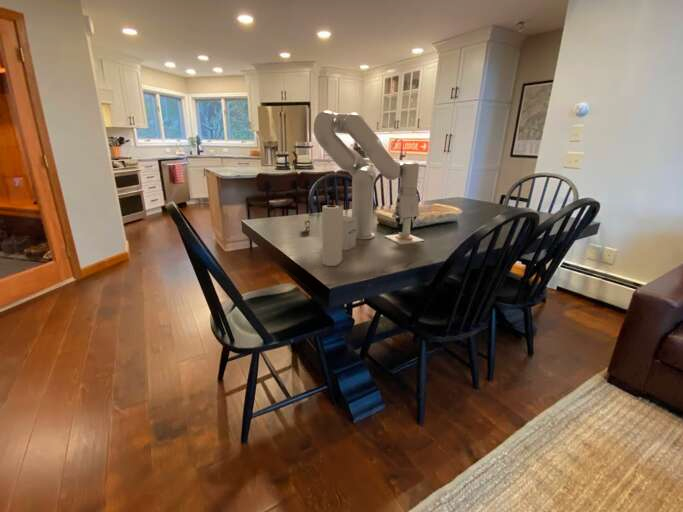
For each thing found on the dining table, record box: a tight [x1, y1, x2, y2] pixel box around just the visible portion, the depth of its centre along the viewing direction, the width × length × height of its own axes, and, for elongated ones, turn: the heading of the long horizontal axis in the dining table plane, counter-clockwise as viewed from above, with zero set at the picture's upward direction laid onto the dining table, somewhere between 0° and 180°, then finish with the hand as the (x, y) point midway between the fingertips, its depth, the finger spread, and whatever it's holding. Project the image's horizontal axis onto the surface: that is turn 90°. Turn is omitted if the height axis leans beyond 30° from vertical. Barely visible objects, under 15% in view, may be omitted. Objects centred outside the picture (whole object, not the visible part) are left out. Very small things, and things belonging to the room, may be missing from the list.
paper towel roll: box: [321, 204, 344, 267], centre depth 118 cm, size 7×6×21 cm
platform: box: [303, 217, 313, 235], centre depth 161 cm, size 12×18×7 cm, turn 8°
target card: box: [384, 233, 425, 246], centre depth 153 cm, size 13×13×1 cm
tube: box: [398, 217, 411, 237], centre depth 151 cm, size 5×5×10 cm
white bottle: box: [342, 215, 357, 251], centre depth 138 cm, size 7×7×13 cm
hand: (404, 230), depth 152 cm, fingers closed on tube, 4 cm apart
